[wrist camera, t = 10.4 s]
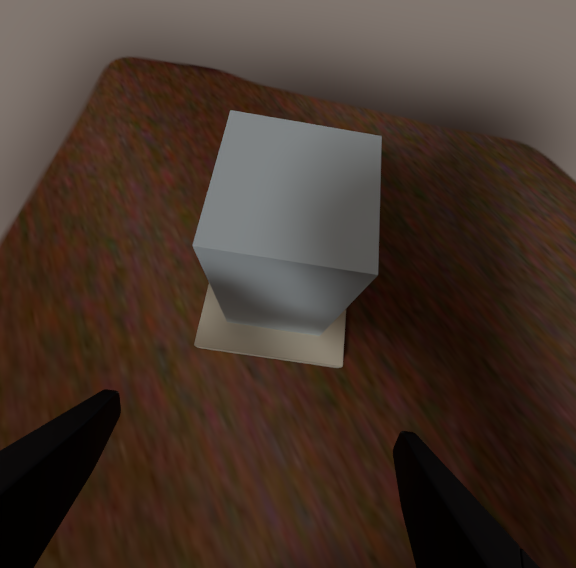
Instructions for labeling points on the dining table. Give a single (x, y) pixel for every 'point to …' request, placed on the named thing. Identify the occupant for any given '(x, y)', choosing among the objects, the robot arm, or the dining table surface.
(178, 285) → the dining table surface
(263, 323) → the grey tall rectangular block
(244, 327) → the post board
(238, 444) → the dining table surface
